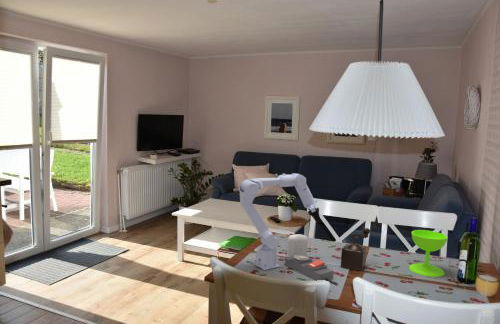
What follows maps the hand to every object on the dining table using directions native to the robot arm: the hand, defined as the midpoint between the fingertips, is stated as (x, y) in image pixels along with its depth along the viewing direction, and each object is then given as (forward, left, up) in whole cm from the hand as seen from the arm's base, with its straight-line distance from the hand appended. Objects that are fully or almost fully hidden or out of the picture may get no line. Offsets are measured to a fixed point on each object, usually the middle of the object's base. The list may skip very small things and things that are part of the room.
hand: (316, 218), depth 201 cm
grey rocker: (-12, -4, -17) cm, 22 cm away
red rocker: (-12, -14, -17) cm, 25 cm away
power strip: (-12, -12, -22) cm, 28 cm away
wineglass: (+39, -37, -23) cm, 58 cm away
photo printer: (-5, +8, -23) cm, 24 cm away
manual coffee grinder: (+15, -14, -23) cm, 30 cm away
